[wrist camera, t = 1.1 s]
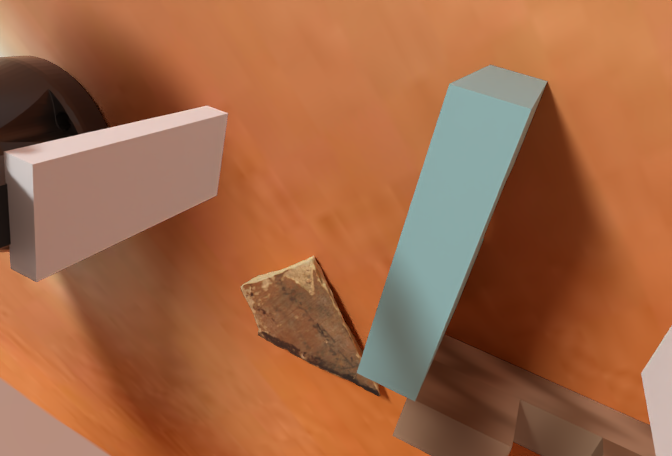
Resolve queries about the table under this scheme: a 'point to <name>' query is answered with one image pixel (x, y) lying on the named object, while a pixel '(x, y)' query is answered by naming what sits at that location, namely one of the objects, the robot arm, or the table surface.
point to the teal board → (447, 221)
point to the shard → (306, 320)
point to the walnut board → (510, 412)
